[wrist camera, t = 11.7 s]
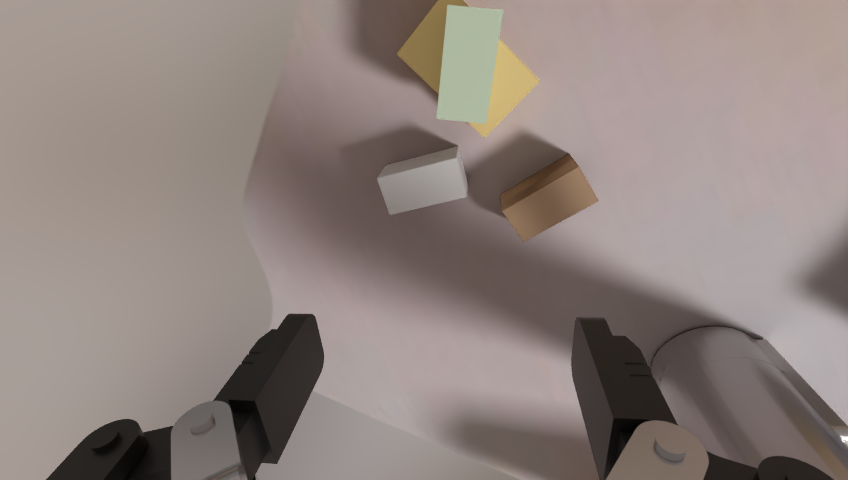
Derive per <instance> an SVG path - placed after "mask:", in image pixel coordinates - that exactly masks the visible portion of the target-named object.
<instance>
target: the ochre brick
mask: <svg viewBox="0 0 848 480" xmlns="http://www.w3.org/2000/svg"><path fill="white" fill-rule="evenodd" d="M447 5H456V6H466V7H469V6H468V5H467V4H466V3H465V2H464V1H463V0H438V1H437V2H436V3H435V5H434V6H433V7H432V9H431V10H430V11H429V13H428V14H427V15H426V16H425V18H424V19H423V20H422V22H421V23H420V24H419V26H418V27H417V28H416V29H415V31H414V32H413V33H412V35H411V36H410V37H409V39H408V40H407V41H406V42H405V44H404V45H403V46H402V48H401V49H400V50H399V52H398V53H397V55H398V56H399V57H400V58H401V59H402V60H403V61H404V62H405V63H406V64H408V65H409V66H410V67H411V68H412V69H413V70H414V71H415V72H416V73H417V74H418V75H419V76H420V77H421V78H422V79H423V80H424V81H425V82H426V83H427V84H428V85H429V86H430V87H432V88H433V89H434V90H435V91H436V92H437V93H438V94H439V87H440V77H441V67H442V56H443V46H444V36H445V25H446V15H447ZM538 83H539V79H538V78H537V77H536V76H535V75H534V74H533V73H532V72H531V71H530V70H529V69H528V68H527V67H526V66H525V65H524V64H523V63H522V62H521V61H520V60H519V59H518V58H517V56H516V55H515V54H514V53H513V52H512V51H511V50H510V49H509V48H508V47H507V46H506V45H505V44H504V43H503V42H502V41H501V40H500V39H499V42H498V49H497V55H496V62H495V69H494V75H493V82H492V88H491V95H490V101H489V108H488V115H487V121H486V124H481V123H472V122H468V123H469V124H470V125H471V126H472V127H473V128H474V129H475V130H476V131H477V132H479V133H480V134H481V135H482V136H483V137H484V138H485V137H486V136H487V135H488V134H489V133H490V132H491V131H492V130H493V129H494V128H495V127H496V126H497V125H498V124H499V123H500V122H501V120H502V119H503V118H504V117H505V116H506V115H507V114H508V113H509V112H510V111H511V110H512V109H513V108H514V107H515V106H516V105H517V104H518V103H519V102H520V101H521V100H522V99H523V98H524V97H525V96H526V95H527V94H528V93H529V92H530V91H531V90H532V89H533V88H534V87H535V86H536V85H537V84H538Z"/></svg>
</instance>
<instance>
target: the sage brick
mask: <svg viewBox="0 0 848 480" xmlns="http://www.w3.org/2000/svg"><path fill="white" fill-rule="evenodd" d="M502 16H503V10H499V9H488V8H477V7H466V6H456V5H447V15H446V25H445V36H444V46H443V56H442V67H441V77H440V87H439V98H438V108H437V118H436V119H444V120H454V121H463V122H472V123H481V124H486V121H487V115H488V108H489V101H490V95H491V88H492V82H493V75H494V69H495V62H496V55H497V49H498V42H499V36H500V29H501V23H502Z"/></svg>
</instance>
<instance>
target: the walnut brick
mask: <svg viewBox="0 0 848 480" xmlns="http://www.w3.org/2000/svg"><path fill="white" fill-rule="evenodd" d="M500 200H501V206H502V212H503V213H504V215H505V216H506V218H507V219H508V221H509V222H510V223H511V225H512V226H513V228H514V229H515V231H516V232H517V234H518V235H519V237H520V238H521V240H522V241H523V242H524V241H526V240H528V239H530V238H531V237H533V236H535V235H537V234H539V233H541V232H543V231H544V230H546V229H548V228H550V227H552V226H554V225H555V224H557V223H559V222H561V221H563V220H565V219H567V218H568V217H570V216H572V215H574V214H576V213H578V212H579V211H581V210H583V209H585V208H587V207H589V206H591V205H592V204H594V203H596V202H598V201H599V200H598V199H597V197H596V195H595V193H594V192H593V190H592V188H591V187H590V185H589V183H588V181H587V180H586V178H585V176H584V174H583V173H582V171H581V169H580V168H579V166H578V165H577V163H576V162H575V161H574V159H573V158H572V157H571V155H570V154H567V155H566V156H564V157H562V158H561V159H559V160H557V161H556V162H554V163H552V164H551V165H549V166H547V167H546V168H544V169H542V170H541V171H539V172H537V173H536V174H534V175H532V176H531V177H529V178H527V179H526V180H524V181H522V182H521V183H519V184H517V185H516V186H514V187H512V188H511V189H509V190H507V191H506V192H504V193H502V194H501V195H500Z"/></svg>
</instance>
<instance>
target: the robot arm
mask: <svg viewBox="0 0 848 480" xmlns="http://www.w3.org/2000/svg"><path fill="white" fill-rule="evenodd" d="M323 363H324V351H323V347H322V343H321V338H320V334H319V330H318V326H317V322H316V318H315V316H314V315H313V314H288V315H287V316H286V318H285V319H284V320H283V322H282V323H281V325H280V326H279V327H278V329H272V330H271V331H269V332H268V333H267V334H265V335H264V336H263V337H261V338H260V339H259V340H258V341H257V342H256V344H255V345H254V346H253V348H252V349H251V350H250V352H249V355H247V356H246V357H245V359H244V360H243V361H242V364H241V365H239V367H238V368H237V369H236V371H235V372H234V373H233V375H232V376H231V377H230V379H229V380H228V381H227V383H226V384H225V385H224V387H223V388H222V389H221V391H220V392H219V394H218V395H217V396H216V398H215V399H214V400H213V401H209V402H205V403H202V404H199V405H197V406H195V407H193V408H192V409H190V410H189V411H187V412H186V413H185V414H183V415H182V416H181V417H180V418H179V419H178V421H177V422H176V423H175V425H174V426H170V427H166V428H162V429H157V430H152V431H148V432H144V433H143V432H142V430H141V428H140V426H139V424H138V423H137V422H136V421H134V420H130V419H122V420H117V421H114V422H111V423H109V424H106V425H104V426H102V427H100V428H99V429H97V430H95V431H94V432H92V433H91V434H89V435H88V436H87V437H86V438H85V439H84V440H83V441H82V442H81V443H80V444H79V445H78V446H77V447H76V448H75V449H74V450H73V451H72V452H71V453H70V455H68V457H67V458H66V459H65V460H64V461H63V462H62V463H61V464H60V465H59V466H58V467H57V469H56V470H55V471H54V472H53V473H52V474H51V475H50V476H49V477H48V478H47V479H46V480H258V478H257V475H256V472H257V470H258V468H259V466H260V464H261V463H272V464H277V463H278V461H279V459H280V457H281V455H282V452H283V450H284V448H285V446H286V444H287V442H288V440H289V438H290V436H291V434H292V431H293V430H294V427H295V425H296V423H297V421H298V419H299V417H300V415H301V413H302V411H303V408H304V407H305V405H306V402H307V400H308V398H309V396H310V394H311V392H312V390H313V388H314V386H315V384H316V382H317V380H318V378H319V376H320V373H321V371H322V368H323ZM571 366H572V376H573V381H574V385H575V389H576V392H577V396H578V400H579V404H580V407H581V411H582V415H583V419H584V422H585V426H586V430H587V434H588V437H589V441H590V445H591V449H592V452H593V456H594V460H595V464H596V467H597V471H598V475H599V479H600V480H848V426H847V425H846V424H845V423H844V422H843V421H842V419H841V418H840V417H839V416H838V415H837V414H836V413H835V412H834V411H833V410H832V409H831V408H830V407H829V406H828V405H827V404H826V402H825V401H824V400H823V399H822V398H821V397H820V396H819V395H818V394H817V393H816V392H815V391H814V390H813V389H812V388H811V387H810V385H809V384H808V383H807V382H806V381H805V380H804V379H803V378H802V377H801V376H800V375H799V374H798V373H797V372H796V371H795V370H794V368H793V367H792V366H791V365H790V364H789V363H788V362H787V361H786V360H785V359H784V358H783V357H782V356H781V355H780V354H779V353H778V351H777V350H776V349H775V348H774V347H773V346H772V345H771V344H770V343H769V342H768V341H767V340H758V339H753V338H751V337H750V336H748V335H746V334H745V333H743V332H741V331H738V330H736V329H733V328H727V327H704V328H697V329H694V330H691V331H687V332H685V333H683V334H680V335H678V336H676V337H674V338H673V339H671V340H670V341H669V342H667V343H666V344H665V345H664V346H663V347H662V348H661V349H660V350H659V351H658V352H657V354H656V356H655V357H654V359H653V362H652V365H651V371H650V369H649V367H648V366H647V363H646V361H645V359H644V357H643V355H642V353H641V351H640V349H639V348H638V347H637V346H636V345H635V344H634V343H632V342H631V341H630V340H629V339H628V338H627V337H626V336H612V333H611V331H610V329H609V327H608V324H607V322H606V320H605V319H604V318H576V320H575V328H574V338H573V348H572V359H571Z"/></svg>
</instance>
